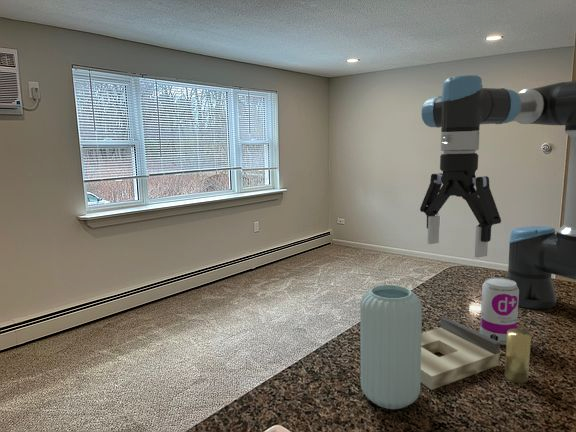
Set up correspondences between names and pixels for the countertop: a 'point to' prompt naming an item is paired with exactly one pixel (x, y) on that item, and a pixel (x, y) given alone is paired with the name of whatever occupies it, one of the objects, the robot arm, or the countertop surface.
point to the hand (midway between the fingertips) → (455, 249)
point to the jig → (455, 353)
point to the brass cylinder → (517, 355)
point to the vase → (390, 346)
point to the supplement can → (499, 308)
